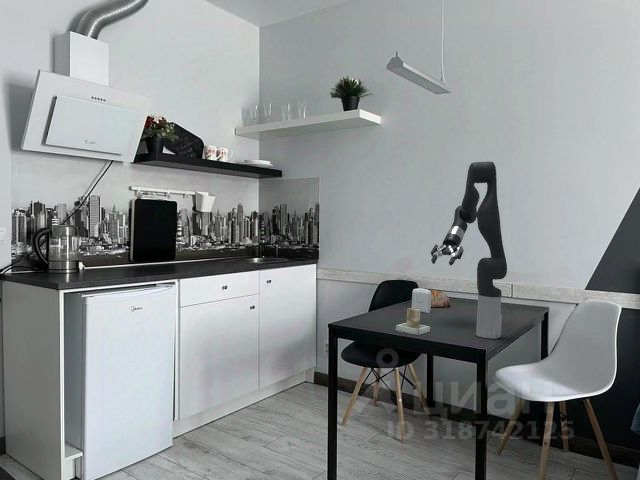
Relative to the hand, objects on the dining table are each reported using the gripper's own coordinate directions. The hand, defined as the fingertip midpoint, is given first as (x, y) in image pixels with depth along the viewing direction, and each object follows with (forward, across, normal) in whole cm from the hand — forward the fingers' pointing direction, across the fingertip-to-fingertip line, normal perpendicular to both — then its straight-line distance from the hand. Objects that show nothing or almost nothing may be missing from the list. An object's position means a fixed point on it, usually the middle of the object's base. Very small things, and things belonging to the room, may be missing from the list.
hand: (441, 263), depth 227 cm
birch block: (+34, -2, +6) cm, 34 cm away
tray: (+34, -2, +6) cm, 35 cm away
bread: (-17, -29, +58) cm, 67 cm away
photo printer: (+1, -24, +40) cm, 46 cm away
